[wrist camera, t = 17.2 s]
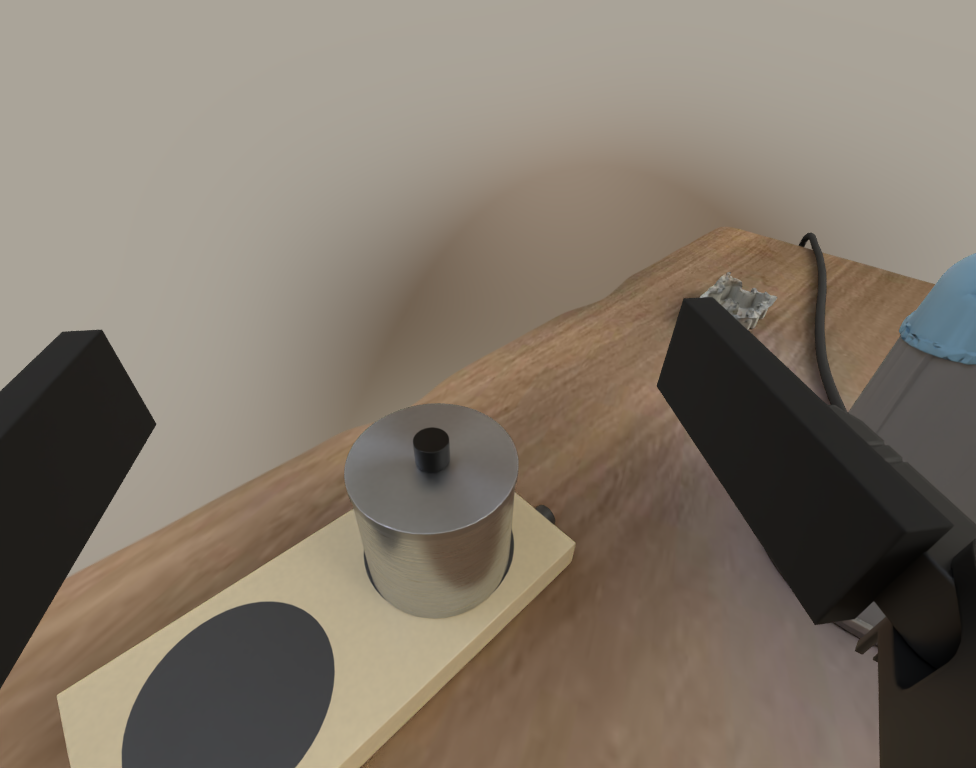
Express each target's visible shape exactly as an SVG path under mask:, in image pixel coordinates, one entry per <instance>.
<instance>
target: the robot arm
mask: <svg viewBox="0 0 976 768" xmlns="http://www.w3.org/2000/svg"><path fill="white" fill-rule="evenodd" d="M808 240H810V243H811V246H812V249H813V251H814V253H815V256H816V260H817V266H818V296H817V304H816V317H815V344H816V355H817V362H818V366H819V371H820V375H821V378H822V382H823V385H824V388H825V390H826V393H827V395H828V398H829V400H830V403H831V405H827V404H826V403H824V402H823V401H822V400H821V399H820V398H819V397H818V396H817V395H816V394H815V393H814V392H813V391H812V390H811V389H810V388H809V387H808V386H806V385H805V384H804V383H803V382H802V381H801V380H800V379H799V378H798V377H797V376H796V375H795V374H794V373H793V372H792V371H791V370H790V369H789V368H787V367H786V366H785V365H784V364H783V363H782V362H781V361H780V360H779V359H778V358H777V357H776V356H775V355H774V354H773V353H772V352H771V351H769V350H768V349H767V348H766V347H765V346H764V345H763V344H762V343H761V342H760V341H759V340H758V339H757V338H756V337H755V336H754V335H753V334H751V333H750V332H749V331H748V330H747V329H746V328H745V327H744V326H743V325H742V324H741V323H740V322H739V321H738V320H737V319H736V318H735V317H734V316H732V315H731V314H730V313H729V312H728V311H727V310H726V309H725V308H724V307H723V306H722V305H721V304H720V303H719V302H718V301H717V300H716V299H714V298H713V297H703V298H684V299H683V302H682V306H681V309H680V312H679V315H678V318H677V322H676V325H675V328H674V331H673V335H672V338H671V341H670V344H669V348H668V351H667V354H666V357H665V361H664V364H663V367H662V370H661V374H660V377H659V380H658V383H657V387H658V389H659V390H660V392H661V393H662V395H663V396H664V398H665V399H666V401H667V402H668V404H669V405H670V407H671V408H672V410H673V411H674V413H675V415H676V416H677V418H678V419H679V421H680V422H681V424H682V425H683V427H684V428H685V430H686V431H687V433H688V434H689V436H690V437H691V439H692V440H693V442H694V443H695V445H696V446H697V448H698V449H699V451H700V452H701V454H702V455H703V457H704V458H705V460H706V461H707V463H708V464H709V466H710V467H711V469H712V470H713V472H714V473H715V475H716V476H717V478H718V479H719V481H720V482H721V484H722V485H723V487H724V488H725V490H726V491H727V493H728V494H729V496H730V497H731V499H732V500H733V502H734V503H735V505H736V507H737V508H738V510H739V511H740V513H741V514H742V516H743V517H744V519H745V520H746V522H747V523H748V525H749V526H750V528H751V529H752V531H753V532H754V534H755V535H756V537H757V538H758V540H759V541H760V543H761V544H762V546H763V547H764V549H765V550H766V552H767V553H768V555H769V557H770V559H771V560H772V562H773V563H774V565H775V566H776V568H777V569H778V570H779V572H780V573H781V574H782V576H783V577H784V579H785V580H786V582H787V583H788V585H789V586H790V588H791V589H792V591H793V592H794V594H795V595H796V597H797V599H798V600H799V602H800V603H801V605H802V606H803V608H804V609H805V611H806V612H807V614H808V615H809V617H810V618H811V620H812V621H813V623H814V624H815V625H818V624H825V623H832V622H834V623H836V624H837V625H839V626H840V627H842V628H843V629H845V630H847V631H849V632H850V633H852V634H854V635H856V636H857V637H859V638H861V639H860V640H858V643H857V646H856V649H855V651H856V652H858V653H860V654H863V653H865V652H866V651H867V650H868V649H869V648H871V647H872V646H873V645H876V646H878V654H877V655H876V656H875V657H874V658H873V660H874V661H876V662H878V683H879V744H880V768H976V253H975V254H973V255H970V256H968V257H966V258H964V259H962V260H960V261H959V262H957V263H956V264H954V265H953V266H952V267H950V268H949V269H948V270H947V271H946V272H945V273H944V274H943V275H942V276H941V278H940V279H939V280H938V282H937V283H936V284H935V286H934V287H933V288H932V290H931V291H930V292H929V294H928V295H927V296H926V298H925V299H924V300H923V302H922V303H921V304H920V306H919V307H918V308H917V310H916V311H914V312H913V313H911V314H910V315H909V316H908V317H907V318H906V319H905V320H904V321H903V323H902V325H901V327H900V329H899V332H900V334H901V336H900V337H899V339H898V340H897V342H896V343H895V344H894V346H893V347H892V349H891V350H890V352H889V353H888V355H887V356H886V358H885V359H884V361H883V362H882V364H881V365H880V366H879V368H878V369H877V371H876V372H875V374H874V375H873V377H872V378H871V380H870V381H869V383H868V384H867V385H866V387H865V388H864V390H863V391H862V393H861V394H860V396H859V397H858V399H857V400H856V402H855V403H854V405H853V406H852V407H851V409H850V410H849V412H847V410H846V408H845V406H844V404H843V402H842V400H841V397H840V395H839V393H838V391H837V388H836V386H835V383H834V380H833V378H832V375H831V371H830V368H829V364H828V360H827V354H826V345H825V332H824V321H825V302H826V268H825V263H824V258H823V254H822V252H821V249H820V247H819V245H818V242H817V238H816V236H815V235H814V234H813V233H807V234H806V235H805V236H804V237H803V238H802V240H801V242H800V243H799V245H798V246H801V247H805V244H806V242H807V241H808ZM155 426H156V423H155V421H154V419H153V417H152V416H151V414H150V412H149V410H148V409H147V407H146V405H145V404H144V402H143V400H142V398H141V397H140V395H139V393H138V391H137V390H136V388H135V386H134V384H133V383H132V381H131V379H130V377H129V376H128V374H127V372H126V371H125V369H124V367H123V365H122V364H121V362H120V360H119V358H118V357H117V355H116V353H115V351H114V350H113V348H112V346H111V345H110V343H109V341H108V339H107V338H106V336H105V334H104V332H103V331H102V330H87V331H70V332H69V331H68V332H62V333H61V334H60V335H59V336H58V337H56V338H55V339H54V340H53V341H52V342H51V343H50V344H49V345H48V346H47V347H46V348H45V349H44V350H43V351H42V352H41V353H40V354H39V355H38V356H37V357H36V358H35V359H33V360H32V361H31V362H30V363H29V364H28V365H27V366H26V367H25V368H24V369H23V370H22V371H21V372H20V373H19V374H18V375H17V376H16V377H15V378H14V379H13V380H12V381H11V382H9V384H7V385H6V386H5V387H4V388H3V389H2V390H1V391H0V688H1V687H2V685H3V683H4V682H5V680H6V678H7V677H8V675H9V673H10V671H11V670H12V668H13V666H14V665H15V663H16V661H17V660H18V658H19V656H20V655H21V653H22V651H23V649H24V648H25V646H26V644H27V643H28V641H29V639H30V638H31V636H32V634H33V632H34V631H35V629H36V627H37V626H38V624H39V622H40V621H41V619H42V617H43V616H44V614H45V612H46V610H47V609H48V607H49V605H50V604H51V602H52V600H53V599H54V597H55V595H56V594H57V592H58V590H59V588H60V587H61V585H62V583H63V582H64V580H65V578H66V577H67V575H68V573H69V571H70V570H71V568H72V566H73V565H74V563H75V561H76V560H77V558H78V556H79V554H80V553H81V551H82V549H83V548H84V546H85V544H86V543H87V541H88V539H89V538H90V536H91V534H92V533H93V531H94V529H95V527H96V526H97V524H98V522H99V521H100V519H101V517H102V516H103V514H104V512H105V510H106V509H107V507H108V505H109V504H110V502H111V500H112V499H113V497H114V495H115V494H116V492H117V490H118V489H119V487H120V485H121V483H122V482H123V480H124V478H125V477H126V475H127V473H128V472H129V470H130V468H131V467H132V465H133V463H134V461H135V460H136V458H137V456H138V455H139V453H140V451H141V450H142V448H143V446H144V444H145V443H146V441H147V439H148V437H149V436H150V434H151V433H152V431H153V429H154V428H155Z"/></svg>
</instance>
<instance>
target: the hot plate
mask: <svg viewBox="0 0 976 768" xmlns="http://www.w3.org/2000/svg"><path fill="white" fill-rule="evenodd" d="M554 524H555V517H554V515H553V513H552V512H551V511H550V510H549V509H548V508H547V507H546V506H544V505H539V506H537V507H536V508H535V509H534V508H533V507H532V506H531V505H530V504H528V503H527V502H526V501H525V500H524V499H522V498H521V497H520V496H519V495H518V494H516V493H515V494H514V506H513V518H512V530H511V542H510V554H509V561H508V566H507V569H506V572H505V574H504V576H503V579H502V581H501V582H500V584H499V585H498V587H497V588H496V589H495V591H494V592H493V593H492V594H491V595H490V596H489V597H488V598H487V599H486V600H484V601H483V602H482V603H481V604H479V605H478V606H476V607H475V608H473V609H471V610H469V611H467V612H464V613H461V614H459V615H456V616H451V617H446V618H423V617H418V616H413V615H411V614H408V613H405V612H403V611H401V610H399V609H397V608H396V607H394V606H393V605H391V604H390V603H389V602H388V601H387V600H386V599H385V598H384V597H383V596H382V595H381V594H380V592H379V591H378V590H377V588H376V586H375V584H374V582H373V580H372V577H371V574H370V570H369V567H368V563H367V559H366V555H365V551H364V547H363V543H362V540H361V536H360V532H359V528H358V524H357V520H356V516H355V512H354V509H352V510H351V511H349V512H347V513H346V514H344V515H343V516H341V517H339V518H338V519H336V520H335V521H333V522H331V523H330V524H328V525H327V526H325V527H324V528H322V529H320V530H319V531H317V532H316V533H314V534H312V535H311V536H309V537H308V538H306V539H304V540H303V541H301V542H300V543H298V544H296V545H295V546H293V547H292V548H290V549H289V550H287V551H285V552H284V553H282V554H281V555H279V556H277V557H276V558H274V559H273V560H271V561H269V562H268V563H266V564H265V565H263V566H261V567H260V568H258V569H257V570H255V571H254V572H252V573H250V574H249V575H247V576H246V577H244V578H242V579H241V580H239V581H238V582H236V583H234V584H233V585H231V586H230V587H228V588H226V589H225V590H223V591H222V592H220V593H218V594H217V595H215V596H214V597H212V598H211V599H209V600H207V601H206V602H204V603H203V604H201V605H199V606H198V607H196V608H195V609H193V610H191V611H190V612H188V613H187V614H185V615H183V616H182V617H180V618H179V619H177V620H176V621H174V622H172V623H171V624H169V625H168V626H166V627H164V628H163V629H161V630H160V631H158V632H156V633H155V634H153V635H152V636H150V637H148V638H147V639H145V640H144V641H142V642H141V643H139V644H137V645H136V646H134V647H133V648H131V649H129V650H128V651H126V652H125V653H123V654H121V655H120V656H118V657H117V658H115V659H113V660H112V661H110V662H109V663H107V664H105V665H104V666H102V667H101V668H99V669H98V670H96V671H94V672H93V673H91V674H90V675H88V676H86V677H85V678H83V679H82V680H80V681H78V682H77V683H75V684H74V685H72V686H70V687H69V688H67V689H66V690H64V691H63V692H61V693H59V694H58V695H57V701H58V706H59V711H60V716H61V721H62V727H63V732H64V737H65V742H66V747H67V752H68V757H69V762H70V767H71V768H360V767H361V766H362V765H363V764H364V763H365V762H366V761H367V760H368V759H369V758H370V757H371V756H372V755H373V754H374V753H375V752H376V751H377V750H378V749H379V748H380V747H381V746H382V745H384V744H385V743H386V742H387V741H388V740H389V739H390V738H391V737H392V736H393V735H394V734H395V733H396V732H397V731H398V730H399V729H400V728H401V727H402V726H403V725H404V724H405V723H406V722H407V721H408V720H409V719H410V718H411V717H412V716H413V715H414V714H415V713H416V712H418V711H419V710H420V709H421V708H422V707H423V706H424V705H425V704H426V703H427V702H428V701H429V700H430V699H431V698H432V697H433V696H434V695H435V694H436V693H437V692H438V691H439V690H440V689H441V688H442V687H443V686H444V685H445V684H446V683H447V682H448V681H449V680H451V679H452V678H453V677H454V676H455V675H456V674H457V673H458V672H459V671H460V670H461V669H462V668H463V667H464V666H465V665H466V664H467V663H468V662H469V661H470V660H471V659H472V658H473V657H474V656H475V655H476V654H477V653H478V652H479V651H480V650H481V649H482V648H483V647H485V646H486V645H487V644H488V643H489V642H490V641H491V640H492V639H493V638H494V637H495V636H496V635H497V634H498V633H499V632H500V631H501V630H502V629H503V628H504V627H505V626H506V625H507V624H508V623H509V622H510V621H511V620H512V619H513V618H514V617H515V616H516V615H518V614H519V613H520V612H521V611H522V610H523V609H524V608H525V607H526V606H527V605H528V604H529V603H530V602H531V601H532V600H533V599H534V598H535V597H536V596H537V595H538V594H539V593H540V592H541V591H542V590H543V589H544V588H545V587H546V586H547V585H548V584H549V583H550V582H552V581H553V580H554V579H555V578H556V577H557V576H558V575H559V574H560V573H561V572H562V571H563V570H564V569H565V568H566V567H567V566H568V565H569V564H570V563H571V561H572V557H573V553H574V548H575V544H576V543H575V542H574V541H573V540H571V539H570V538H569V537H568V536H567V535H565V534H564V533H563V532H562V531H561V530H559V529H558V528H557V527H556V526H555V525H554Z"/></svg>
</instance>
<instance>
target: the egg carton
mask: <svg viewBox="0 0 976 768" xmlns="http://www.w3.org/2000/svg"><path fill="white" fill-rule="evenodd" d="M730 273H731V272H728V273H727V274H724V275H723V276H722V277H721V278H720V279H719V280H718V281H717V282H716V284H715V285H714V286H712V287H710V288H709V290H708V291H707V292H705V293H704V294H702V295H701V297H700V298H703V297H713V298H714V299H716V300H717V301H718V302H719V303H720V304H721V305H722V306H723V307H724V308H725V309H726V310H727V311H728V312H729V313H730V314H731V315H732V316H734V317H735V318H736V319H737V320H738V321H739V322H740V323H741V324H742V325H743V326H744V327H745V328H746V329H747V330H749V328H752V329H753V328H754V327H755V326H756V324H757V321H758V319H763V318H764V316H765V314H766V312H767V310H768V307H770V306H771V305H772V304H773V303H774V301H775V300H776V299H777V297H776V296H771V295H769V294H768V293H767V292H765V293H760V292H758V291H757V290H756V288H752V290H751V292H749V291H746V290H742V282H741V281H740V280H738V279H736V278H733V277H731V276H730Z"/></svg>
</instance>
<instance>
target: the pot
mask: <svg viewBox="0 0 976 768" xmlns="http://www.w3.org/2000/svg"><path fill="white" fill-rule="evenodd" d="M517 476H518V455H517V451H516V448H515V445H514V443H513V441H512V439H511V437H510V436H509V435H508V433H507V432H506V431H505V429H504V428H503V427H502V426H500V425H499V424H498V423H497V422H496V421H494V420H493V419H492V418H490V417H488V416H487V415H485V414H483V413H481V412H479V411H476V410H474V409H471V408H468V407H463V406H459V405H453V404H440V403H437V404H423V405H417V406H412V407H408V408H405V409H401V410H398V411H396V412H394V413H391V414H389V415H387V416H385V417H383V418H381V419H380V420H378V421H377V422H375V423H373V424H372V425H371V426H370V427H369V428H367V429H366V430H365V431H364V432H363V433H362V434H361V435H360V436H359V438H358V439H357V440H356V442H355V443H354V444H353V446H352V448H351V450H350V452H349V454H348V457H347V460H346V464H345V470H344V479H345V485H346V489H347V493H348V496H349V499H350V501H351V503H352V505H353V509H354V512H355V516H356V520H357V524H358V528H359V532H360V536H361V540H362V543H363V547H364V551H365V555H366V559H367V563H368V567H369V570H370V574H371V577H372V580H373V582H374V584H375V586H376V588H377V590H378V591H379V592H380V594H381V595H382V596H383V597H384V598H385V599H386V600H387V601H388V602H389V603H390V604H391V605H393V606H394V607H396V608H397V609H399V610H401V611H403V612H405V613H408V614H411V615H413V616H418V617H423V618H446V617H451V616H456V615H459V614H461V613H464V612H467V611H469V610H471V609H473V608H475V607H476V606H478V605H479V604H481V603H482V602H483V601H484V600H486V599H487V598H488V597H489V596H490V595H491V594H492V593H493V592H494V591H495V589H496V588H497V587H498V585H499V584H500V582H501V581H502V579H503V576H504V574H505V572H506V569H507V566H508V561H509V554H510V542H511V530H512V518H513V506H514V494H515V486H516V482H517Z"/></svg>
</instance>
